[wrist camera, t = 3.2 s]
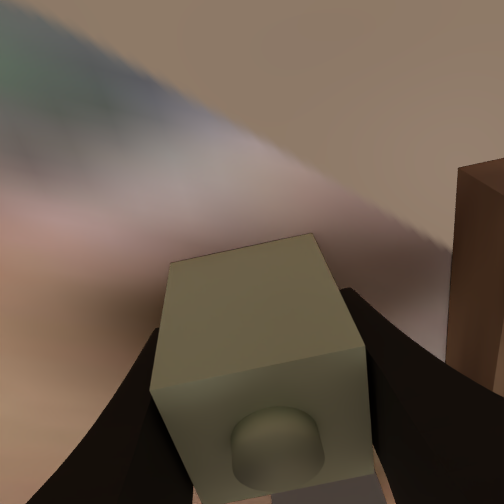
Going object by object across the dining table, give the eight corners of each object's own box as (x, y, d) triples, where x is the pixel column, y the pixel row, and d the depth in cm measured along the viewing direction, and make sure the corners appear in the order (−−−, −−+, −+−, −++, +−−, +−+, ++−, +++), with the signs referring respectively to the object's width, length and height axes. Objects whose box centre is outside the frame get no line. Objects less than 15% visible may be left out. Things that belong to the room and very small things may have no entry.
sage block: (326, 340, 13) (384, 500, 9) (205, 365, 13) (203, 536, 9) (311, 232, 11) (377, 370, 7) (170, 263, 11) (145, 418, 7)
